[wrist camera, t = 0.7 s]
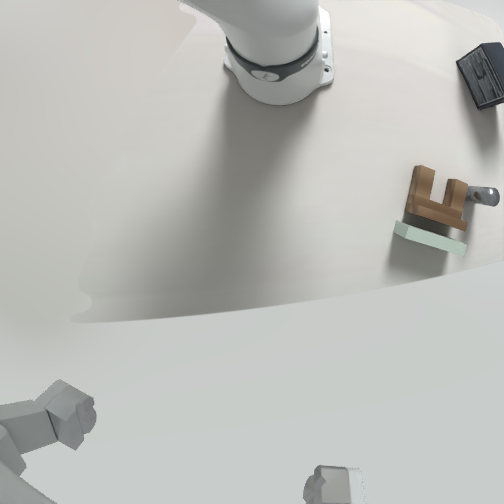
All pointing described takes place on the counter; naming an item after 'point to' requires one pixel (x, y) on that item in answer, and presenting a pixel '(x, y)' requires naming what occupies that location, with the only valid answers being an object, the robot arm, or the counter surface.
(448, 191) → the block
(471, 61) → the small box
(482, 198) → the dowel
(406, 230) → the wall
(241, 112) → the counter surface
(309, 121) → the counter surface
